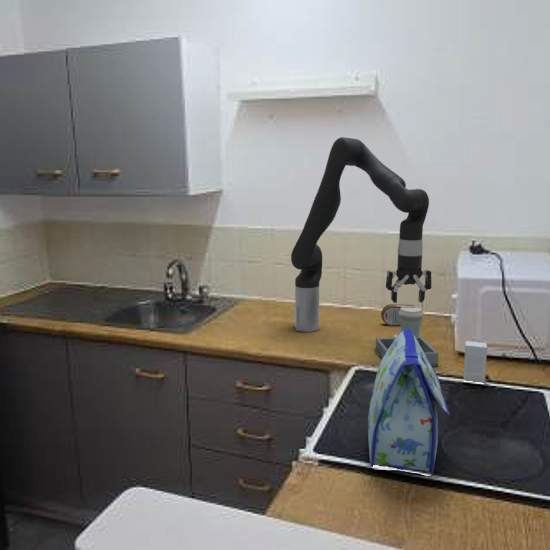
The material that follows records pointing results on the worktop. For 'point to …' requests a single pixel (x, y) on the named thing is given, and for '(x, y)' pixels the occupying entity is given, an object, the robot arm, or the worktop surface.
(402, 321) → the coffee cup
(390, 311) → the tin
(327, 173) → the robot arm
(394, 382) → the lunch bag
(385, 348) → the large crate
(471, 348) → the skincare box
